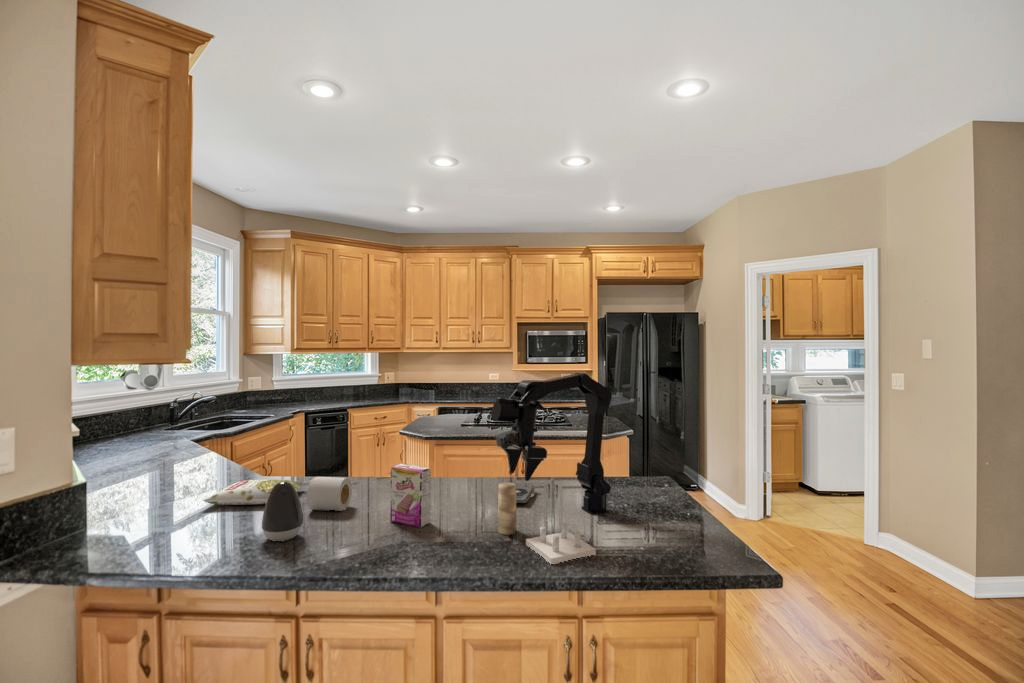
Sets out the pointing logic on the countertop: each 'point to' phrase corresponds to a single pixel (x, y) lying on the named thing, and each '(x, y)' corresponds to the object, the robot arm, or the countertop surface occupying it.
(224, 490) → the frozen beans
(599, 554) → the countertop surface
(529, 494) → the graphics card
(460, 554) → the countertop surface
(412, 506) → the candy bar box
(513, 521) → the maple post
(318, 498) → the toilet paper
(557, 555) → the pin plate
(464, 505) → the countertop surface
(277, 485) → the aroma diffuser
